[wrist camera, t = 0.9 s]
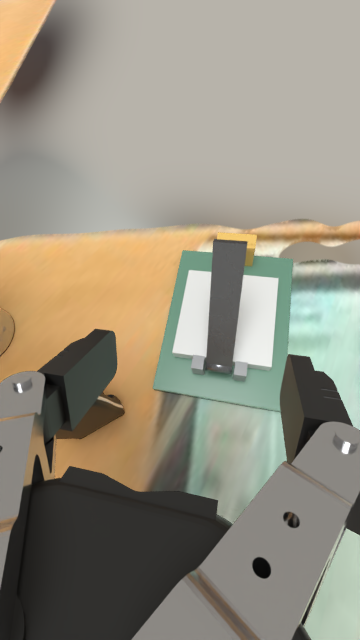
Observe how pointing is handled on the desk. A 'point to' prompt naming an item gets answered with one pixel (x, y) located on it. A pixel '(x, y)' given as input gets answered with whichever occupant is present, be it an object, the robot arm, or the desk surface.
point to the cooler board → (218, 381)
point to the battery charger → (95, 417)
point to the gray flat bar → (224, 303)
